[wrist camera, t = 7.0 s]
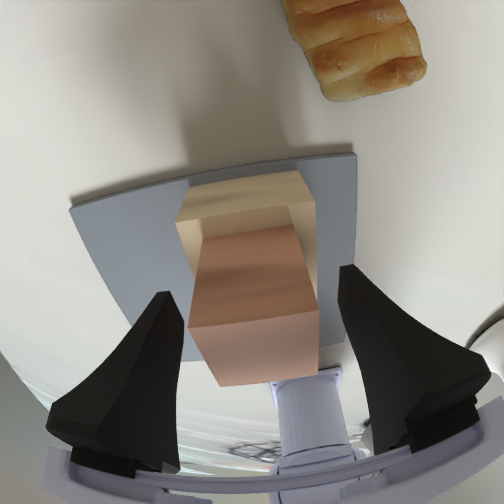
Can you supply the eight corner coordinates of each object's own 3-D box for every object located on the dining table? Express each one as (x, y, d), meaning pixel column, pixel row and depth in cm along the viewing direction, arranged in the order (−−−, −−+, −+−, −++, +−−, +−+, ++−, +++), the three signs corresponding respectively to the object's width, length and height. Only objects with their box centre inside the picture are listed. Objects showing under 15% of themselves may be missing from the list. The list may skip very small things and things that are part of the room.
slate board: (341, 336, 24) (343, 341, 24) (157, 357, 26) (157, 362, 25) (353, 152, 15) (357, 155, 14) (72, 205, 16) (68, 210, 15)
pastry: (239, -27, 9) (240, -55, 5) (344, -55, 7) (371, -79, 4) (325, 109, 13) (351, 120, 10) (417, 73, 12) (457, 79, 9)
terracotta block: (299, 290, 14) (317, 374, 10) (223, 302, 15) (220, 386, 11) (293, 223, 12) (319, 309, 8) (202, 239, 12) (187, 328, 8)
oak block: (304, 257, 18) (316, 301, 15) (213, 270, 18) (208, 316, 15) (297, 169, 15) (315, 200, 11) (189, 187, 15) (174, 222, 12)
